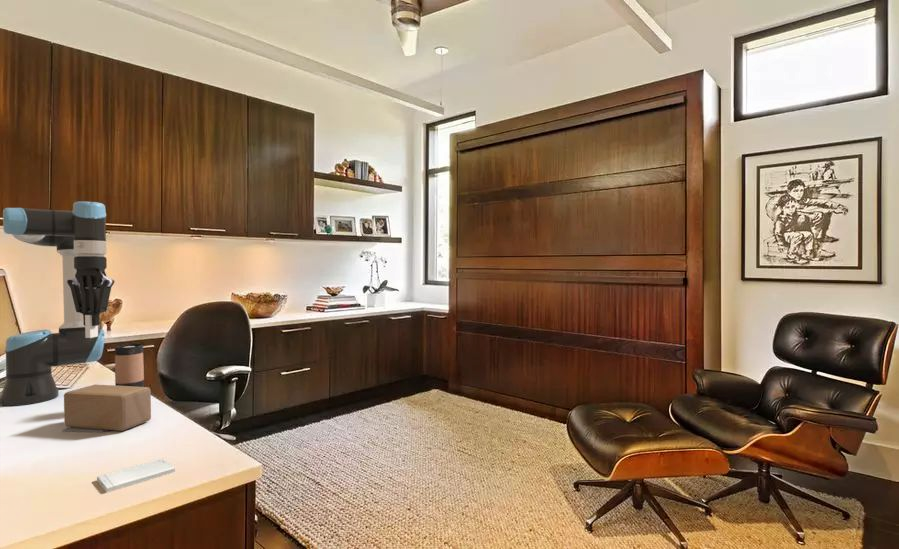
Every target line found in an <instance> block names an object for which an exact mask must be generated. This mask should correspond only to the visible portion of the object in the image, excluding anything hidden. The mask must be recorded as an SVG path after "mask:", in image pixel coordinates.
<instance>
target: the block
mask: <svg viewBox="0 0 899 549" xmlns="http://www.w3.org/2000/svg"><path fill="white" fill-rule="evenodd" d="M151 395H152V394H151V388H150V387H148V386H144V387H134V386H115V385H114V384H113V385H112V384H110V385H109V384H92V385H87V386H84V387H81V388H77V389H76V388H75V389H73V390H69V391H66V392H64V394H63V409H64V410H63V411H64V412H63V414H64V416H63V419H64V426H65V427H66V428H69V427H79V428H92V429H106V430H107V431H108V430H110V431H121V432H122V431H123V432H124V431H126V430H128V429H130V428H131V429H132V428H133V427H135V426H138V425H141V424H143V423H144V424H145V423H146V422H148V421H150V420H151V419H152V396H151Z"/></svg>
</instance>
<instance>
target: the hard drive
mask: <svg viewBox="0 0 899 549" xmlns="http://www.w3.org/2000/svg"><path fill="white" fill-rule="evenodd" d="M173 472H175V473H176V467H174V466H173V465H172V464H171V463H170V462H168V461H167V460H165V459H164V458H160V459H156V460H153V461H152V460H151V461H149V462H145V463H142V464H139V465H135V466H130V467H127V468H123V469H120V470H116V471H112V472H109V473H105V474H101V475H98V476H96V481H97V483H98V484H99V486H101V488H102V489H103V491H105V493H106V494H108V493H112V492H114V491H117V490H121V489H123V488H127V487H132V486H134V485H138V484H141V483H145V482H147V481H148V482H149V481H150V480H151V479H152V480H155V479H157V477H158V478H162V477H164V476H163V475H165V476H168V475H170V473H172V474H174V473H173ZM167 474H168V475H167ZM161 476H162V477H161ZM154 478H155V479H154ZM152 480H151V481H152Z"/></svg>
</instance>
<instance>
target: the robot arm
mask: <svg viewBox="0 0 899 549" xmlns="http://www.w3.org/2000/svg"><path fill="white" fill-rule="evenodd" d="M106 217H107V212H106V205H105V204H104V203H102V202H97V201H82V200H81V201H79V200H78V201H75V202H74V203H73V205H72V210H59V209H58V210H57V209H56V210H54V209H39V208H38V209H37V208H25V207H24V208H23V207H5V208H4V209H3V210H2V222H3V223H2V224H3V226H2V227H3V233H5V234H7V235H12V236H13V237H14V239H16V240H18V241H21V242H23V243H26V244H30V245H34V246H35V245H36V246H41V247H56V252H57V253H58V254H59V255H60V256H61V257H62V287H63V288H62V289H63V290H62V294H63V297H62V298H63V299H62V300H63V323H62V324H61V325H60V326H58V332H56V333H55V332H53V333H52V331H51V330H50V329H40V330H38V329H37V330H31V331H26V332H21V333H16V334H14V335H10V336H8V337H7V338H6V339H5V350H4V353H5V383H4V386H3V387H2V391H1V394H0V404H2V405H1V406H5V405H14V406H23V405H24V404H25V405H31V403H32V404H36V403H37V404H38V403H43V402H45V401H50V400H53V399H56V398H58V397H59V388H58V387H57V385H56V382H55V379H54V377H53V374H52V367H60V366H71V365H77V364H78V365H80V364H87V363H94V362H97V361H99V360H100V359H101V358H102V355H103V351H104V346H105V333H106V332H105V330H104V329H102V328H100V324H101V323H100V322H101V321H100V319H101V316H100V315H101V314H102V313H106V312H107V310H108V306H109V300H110V296H111V291H112V287H113V286H114V284H115V280H114V279H110V278H108V277H107V273H106V271H105V270H106V269H108V268H107V262H108V260H107V258H108V257H106V255H107V252H108V251H107V234H106V232H107V230H106V228H107V226H106V225H107V223H106V222H107V218H106Z"/></svg>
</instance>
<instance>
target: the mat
mask: <svg viewBox="0 0 899 549" xmlns="http://www.w3.org/2000/svg"><path fill="white" fill-rule="evenodd" d="M74 431H75V432H78V433H80V432H81V433H82V432H83V433H85V432H86V433H104V432H106V429H92V428H79V427H66V428H63V429H62V430H61V432H74Z"/></svg>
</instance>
